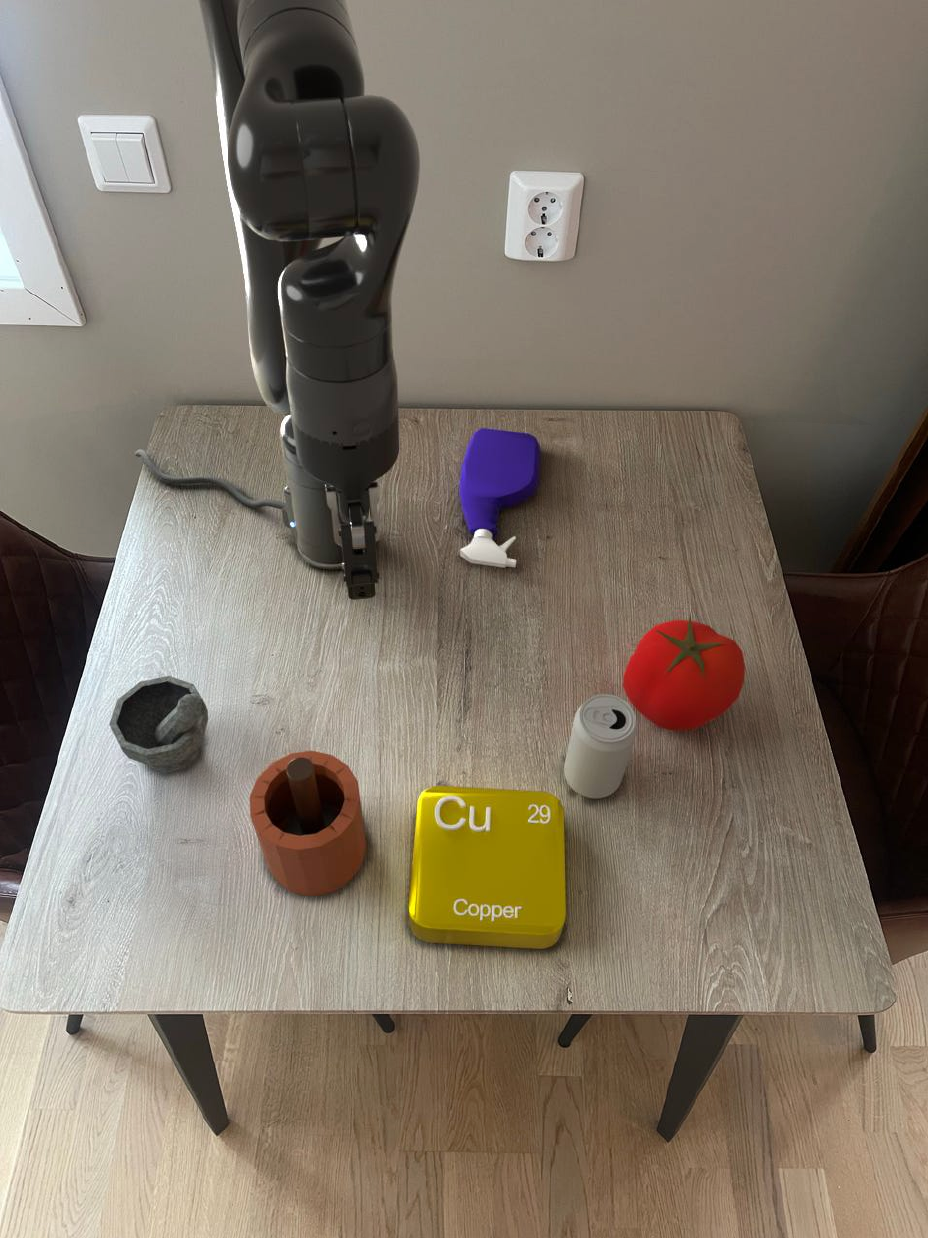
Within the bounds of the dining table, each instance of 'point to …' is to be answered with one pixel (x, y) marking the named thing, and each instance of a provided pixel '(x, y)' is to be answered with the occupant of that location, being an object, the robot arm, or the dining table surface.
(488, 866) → the element tile
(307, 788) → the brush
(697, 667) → the tomato
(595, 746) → the beverage can
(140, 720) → the mortar and pestle
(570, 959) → the dining table surface
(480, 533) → the spray bottle
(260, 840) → the jar
